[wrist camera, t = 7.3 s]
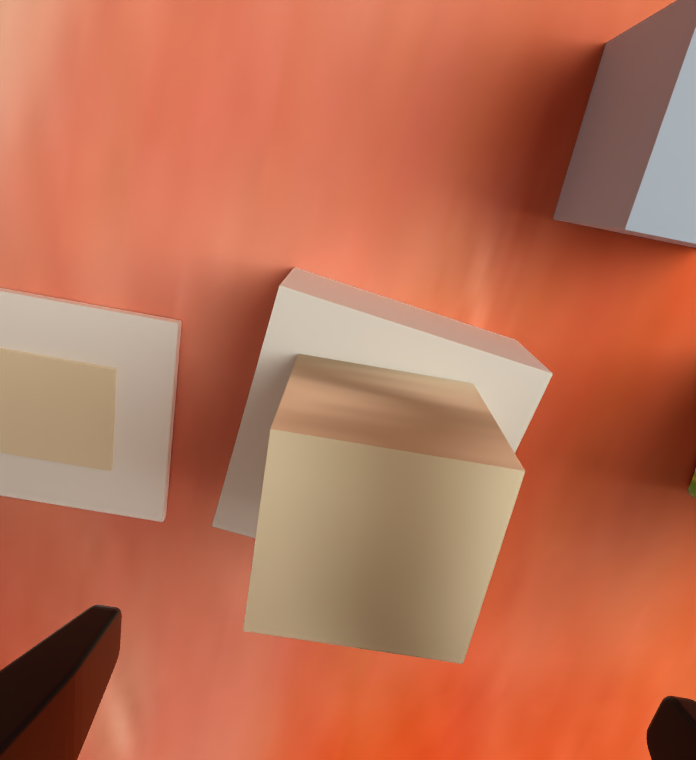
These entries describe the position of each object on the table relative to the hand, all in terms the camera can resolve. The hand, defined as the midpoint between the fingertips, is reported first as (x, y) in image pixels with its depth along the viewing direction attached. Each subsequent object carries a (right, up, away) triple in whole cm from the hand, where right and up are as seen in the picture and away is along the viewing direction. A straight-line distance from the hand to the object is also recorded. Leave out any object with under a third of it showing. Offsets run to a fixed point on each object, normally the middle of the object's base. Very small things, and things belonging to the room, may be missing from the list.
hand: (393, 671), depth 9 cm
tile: (-11, +4, +11) cm, 16 cm away
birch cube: (0, +3, +7) cm, 8 cm away
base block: (0, +4, +11) cm, 12 cm away
